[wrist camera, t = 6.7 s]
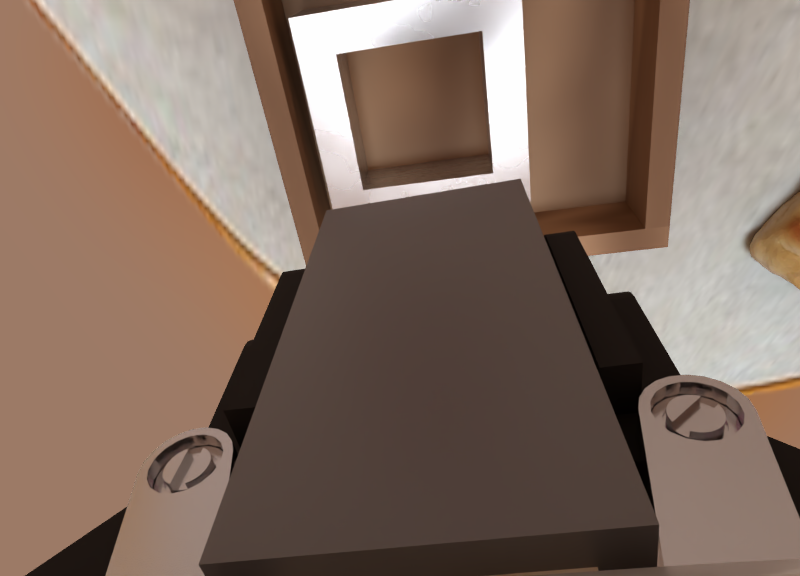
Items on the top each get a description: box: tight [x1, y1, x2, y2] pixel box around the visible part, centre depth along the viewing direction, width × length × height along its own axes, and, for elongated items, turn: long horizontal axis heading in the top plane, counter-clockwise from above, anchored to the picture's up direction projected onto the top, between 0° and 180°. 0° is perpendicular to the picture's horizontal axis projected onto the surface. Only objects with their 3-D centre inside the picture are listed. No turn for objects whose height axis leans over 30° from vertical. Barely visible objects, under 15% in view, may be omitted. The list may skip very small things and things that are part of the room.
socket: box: [288, 0, 531, 209], centre depth 25 cm, size 9×9×2 cm
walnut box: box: [234, 0, 690, 266], centre depth 25 cm, size 16×14×4 cm
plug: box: [199, 179, 659, 576], centre depth 9 cm, size 4×4×9 cm
